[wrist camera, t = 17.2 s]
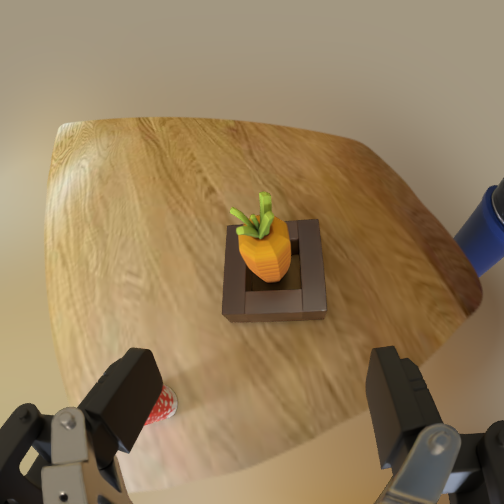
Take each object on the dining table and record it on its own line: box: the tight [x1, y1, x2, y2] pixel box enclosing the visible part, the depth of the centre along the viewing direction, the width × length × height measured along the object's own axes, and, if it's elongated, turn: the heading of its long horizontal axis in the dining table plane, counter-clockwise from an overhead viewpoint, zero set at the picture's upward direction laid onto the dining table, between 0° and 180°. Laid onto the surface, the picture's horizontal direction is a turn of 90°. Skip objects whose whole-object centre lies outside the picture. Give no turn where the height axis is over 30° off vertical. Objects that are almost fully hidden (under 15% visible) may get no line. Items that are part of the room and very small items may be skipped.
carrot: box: [230, 192, 291, 283], centre depth 27 cm, size 5×5×15 cm
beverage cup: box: [83, 385, 178, 425], centre depth 23 cm, size 6×6×14 cm
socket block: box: [222, 219, 327, 322], centre depth 32 cm, size 11×11×4 cm
